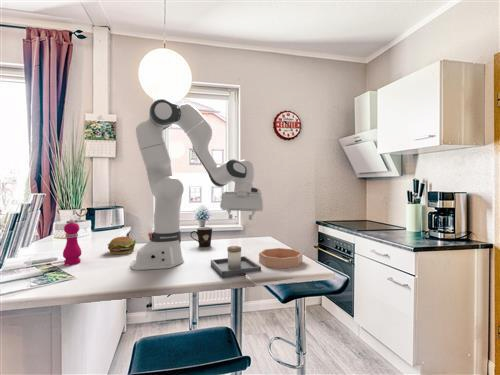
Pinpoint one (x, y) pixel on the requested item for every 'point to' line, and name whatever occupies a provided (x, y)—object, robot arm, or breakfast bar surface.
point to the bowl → (280, 258)
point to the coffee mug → (204, 236)
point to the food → (121, 245)
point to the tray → (226, 272)
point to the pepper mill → (71, 244)
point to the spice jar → (234, 257)
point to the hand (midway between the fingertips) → (240, 219)
